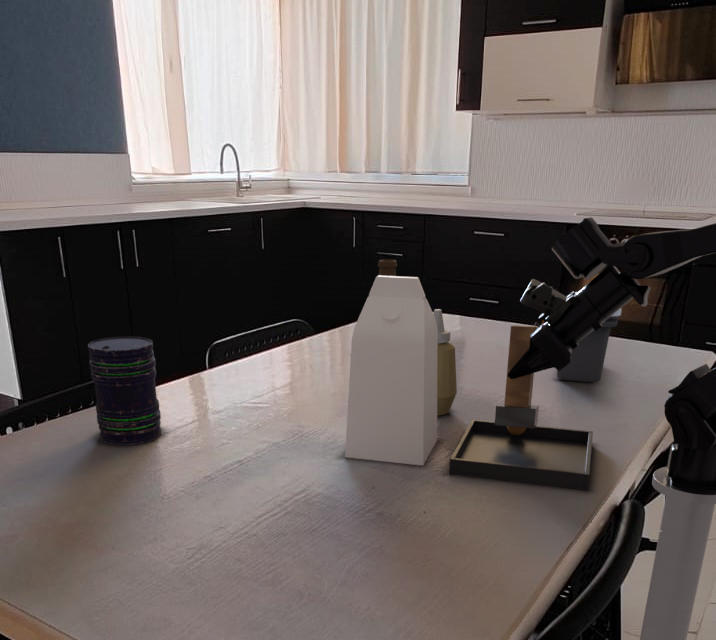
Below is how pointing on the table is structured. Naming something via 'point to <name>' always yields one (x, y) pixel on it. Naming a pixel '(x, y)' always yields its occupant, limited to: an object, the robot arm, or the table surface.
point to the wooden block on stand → (518, 385)
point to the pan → (524, 455)
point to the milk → (393, 375)
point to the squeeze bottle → (445, 367)
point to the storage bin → (589, 354)
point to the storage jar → (125, 390)
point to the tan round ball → (515, 430)
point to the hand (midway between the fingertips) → (510, 373)
